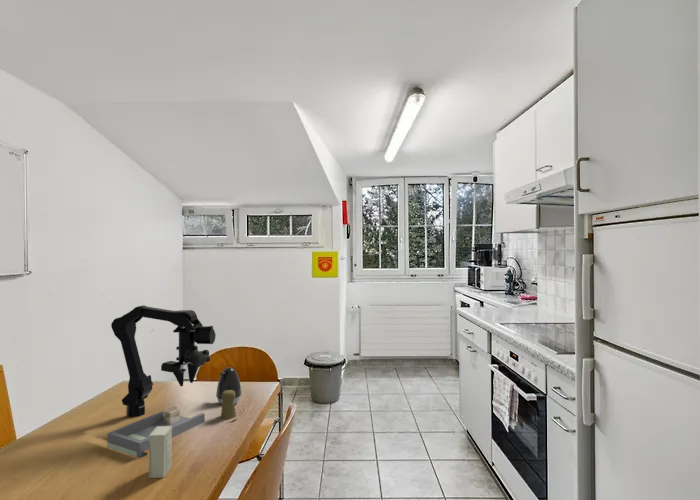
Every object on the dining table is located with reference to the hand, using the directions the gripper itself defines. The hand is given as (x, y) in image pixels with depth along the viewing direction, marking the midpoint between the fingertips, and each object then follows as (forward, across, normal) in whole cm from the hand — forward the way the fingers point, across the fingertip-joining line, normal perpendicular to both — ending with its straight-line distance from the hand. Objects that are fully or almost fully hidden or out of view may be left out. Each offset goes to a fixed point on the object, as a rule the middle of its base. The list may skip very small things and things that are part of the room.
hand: (186, 384), depth 155 cm
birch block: (+12, -7, 0) cm, 13 cm away
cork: (+13, +6, -16) cm, 21 cm away
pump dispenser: (+13, +19, -4) cm, 23 cm away
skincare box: (+13, -31, -24) cm, 42 cm away
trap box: (+13, -15, -4) cm, 20 cm away
